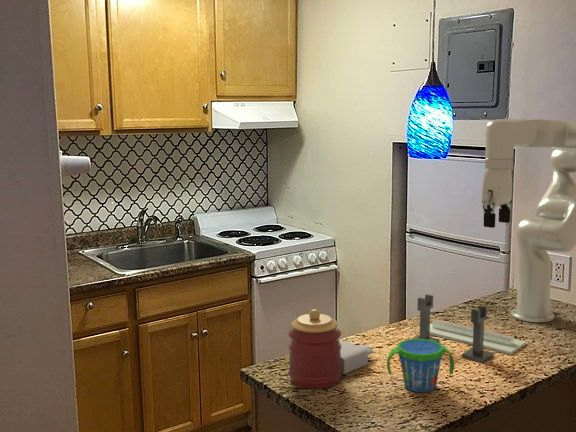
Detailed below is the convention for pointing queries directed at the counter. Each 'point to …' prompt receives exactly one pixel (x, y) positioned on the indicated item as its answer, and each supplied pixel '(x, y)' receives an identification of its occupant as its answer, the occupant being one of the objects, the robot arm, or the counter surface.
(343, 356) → the charger
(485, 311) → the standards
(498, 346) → the board
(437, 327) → the rail
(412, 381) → the snack cup
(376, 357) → the counter surface
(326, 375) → the canister
